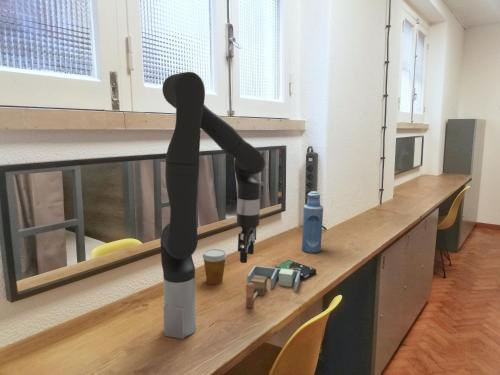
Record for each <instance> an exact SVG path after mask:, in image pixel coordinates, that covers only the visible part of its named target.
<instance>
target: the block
mask: <svg viewBox="0 0 500 375" xmlns="http://www.w3.org/2000/svg"><path fill="white" fill-rule="evenodd" d="M293 273H294V270H290V269H282V268H281V270H280V272H279V278H278V286H282V287H293V283H294V280H293Z"/></svg>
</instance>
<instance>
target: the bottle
mask: <svg viewBox="0 0 500 375" xmlns="http://www.w3.org/2000/svg"><path fill="white" fill-rule="evenodd" d="M323 216H324V206H323V205H321V194H320V192H318V191H317V190H316V191H315V190H312V191H309V192H308V193H307V200H306V204H304V205H303V216H302V218H303V220H302V221H303V222H302V235H301V236H302V237H301V250H302V251H303V252H304V253H307V254H318V253H320V252H322V234H323V222H324V221H323V220H324V219H323Z"/></svg>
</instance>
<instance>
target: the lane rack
mask: <svg viewBox="0 0 500 375" xmlns="http://www.w3.org/2000/svg"><path fill="white" fill-rule="evenodd" d="M280 270H281V269H280V268H275V267H271V266H270V267H269V266H263V265H262V266H261V265H253V267H252V268H251V270H250V271H249V272H248V274H247V280H246V281H247V283H251V279H252V278H253V277H254V275H257V276H264V277H267V278H270V285H269V286H270V289H271V290H273V289H274V286H275V284H276V282H277V280H278V279H279V272H280ZM293 281H294V288H293V290H294V292H295V293H297V291H298V288H299V284H300V281H301V280H300V271H297V270H294V273H293ZM247 283H246V284H247Z"/></svg>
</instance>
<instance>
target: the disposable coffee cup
mask: <svg viewBox="0 0 500 375" xmlns="http://www.w3.org/2000/svg"><path fill="white" fill-rule="evenodd" d="M227 257H228V256H227V254H226V251H225V250H223V249H221V248H210V249H206V250H204V251H203V254H202V260H203V263H204V270H205V271H204V272H205V277H206V283H207V284H210V285H219V284H222V283H223V278H224V270H225V265H226V264H225V263H226V259H227Z"/></svg>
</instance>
